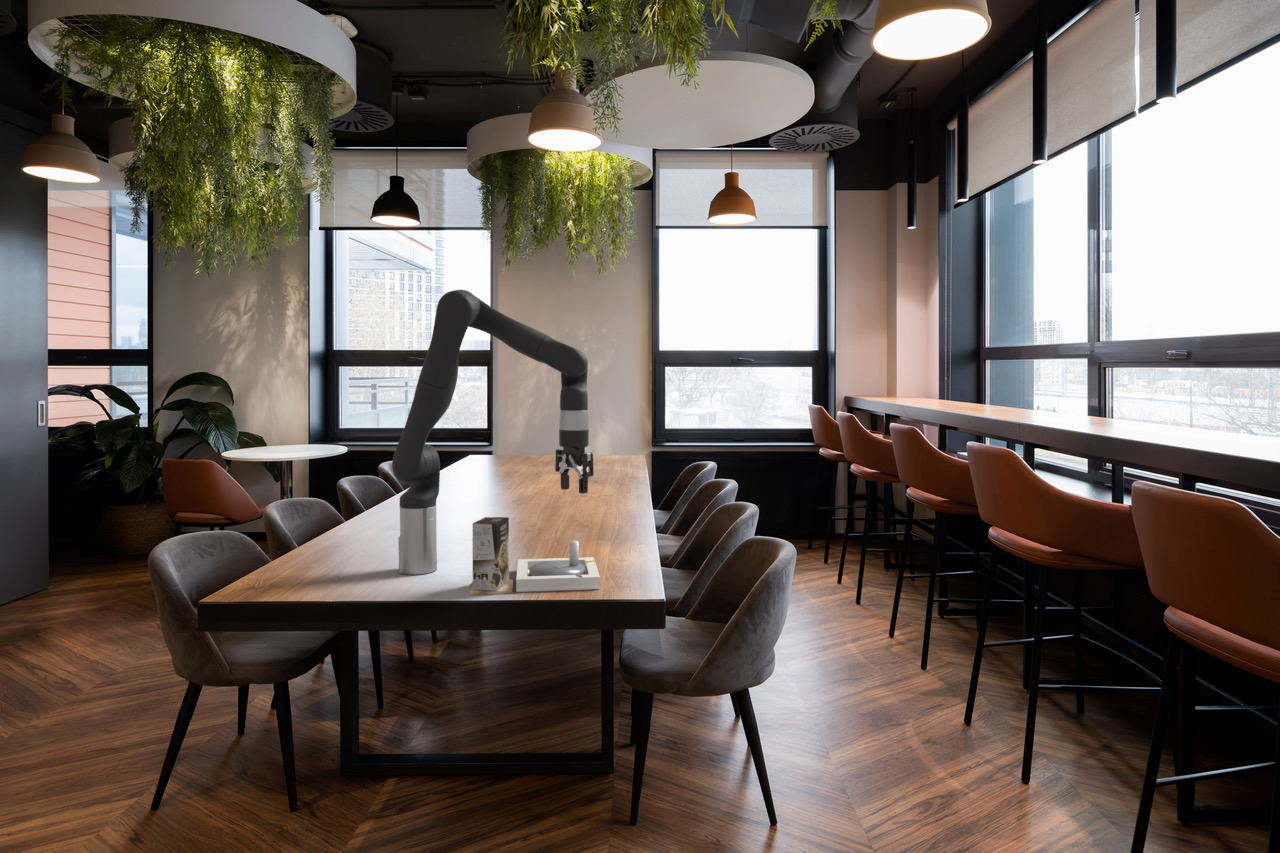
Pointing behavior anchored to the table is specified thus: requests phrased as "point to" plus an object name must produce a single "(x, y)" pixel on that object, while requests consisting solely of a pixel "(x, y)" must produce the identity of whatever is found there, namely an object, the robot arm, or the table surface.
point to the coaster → (503, 590)
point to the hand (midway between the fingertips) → (573, 491)
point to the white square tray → (557, 577)
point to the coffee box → (490, 553)
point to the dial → (560, 564)
